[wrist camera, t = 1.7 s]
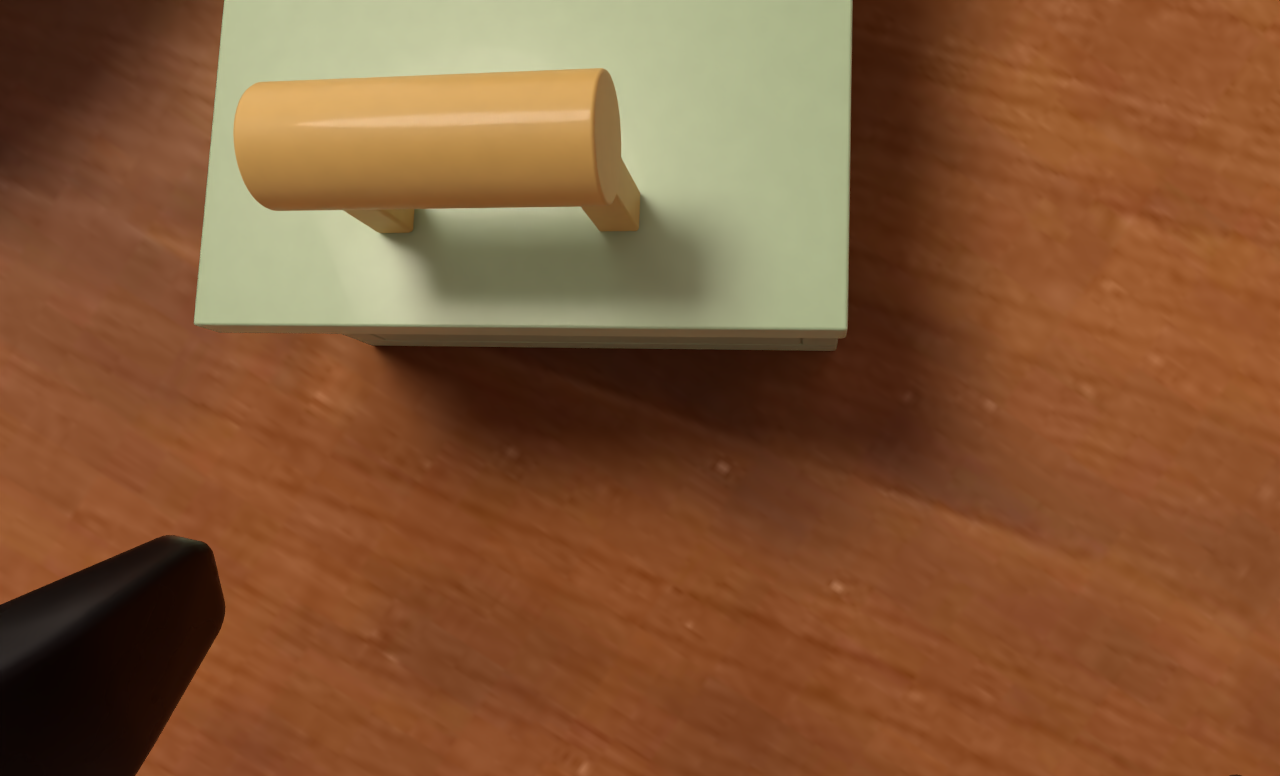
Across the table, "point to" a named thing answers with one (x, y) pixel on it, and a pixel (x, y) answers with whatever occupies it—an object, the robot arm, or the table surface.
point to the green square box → (600, 342)
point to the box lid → (530, 168)
